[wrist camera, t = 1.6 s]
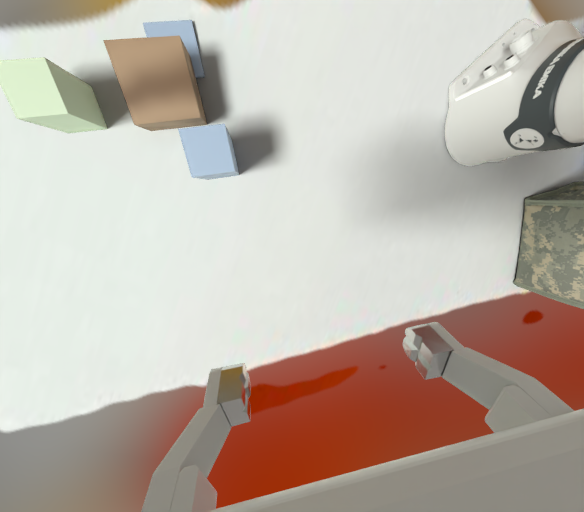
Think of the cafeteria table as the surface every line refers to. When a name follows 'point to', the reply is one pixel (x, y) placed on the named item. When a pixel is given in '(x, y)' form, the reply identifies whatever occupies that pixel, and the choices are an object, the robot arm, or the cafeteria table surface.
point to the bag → (554, 245)
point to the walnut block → (157, 82)
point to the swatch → (187, 36)
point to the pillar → (209, 151)
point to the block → (50, 96)
